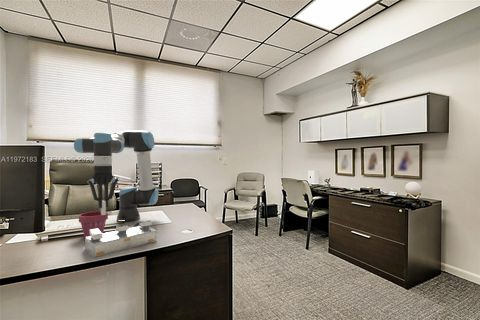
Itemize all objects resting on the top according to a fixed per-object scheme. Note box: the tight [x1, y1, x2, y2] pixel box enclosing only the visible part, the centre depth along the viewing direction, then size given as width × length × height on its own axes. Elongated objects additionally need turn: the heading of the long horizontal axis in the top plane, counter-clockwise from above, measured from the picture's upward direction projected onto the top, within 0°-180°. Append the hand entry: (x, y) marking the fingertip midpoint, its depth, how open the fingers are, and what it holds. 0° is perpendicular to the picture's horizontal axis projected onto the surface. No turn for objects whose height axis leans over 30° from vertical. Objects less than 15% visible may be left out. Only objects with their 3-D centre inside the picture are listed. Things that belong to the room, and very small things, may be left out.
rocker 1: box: [89, 228, 102, 240], centre depth 113 cm, size 8×4×2 cm, turn 44°
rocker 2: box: [115, 224, 129, 232], centre depth 121 cm, size 8×4×2 cm, turn 44°
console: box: [84, 225, 157, 258], centre depth 121 cm, size 14×30×7 cm, turn 134°
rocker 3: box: [139, 220, 153, 227], centre depth 130 cm, size 8×4×2 cm, turn 44°
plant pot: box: [78, 210, 109, 238], centre depth 136 cm, size 14×14×13 cm
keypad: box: [129, 221, 152, 228], centre depth 147 cm, size 10×4×15 cm
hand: (103, 214), depth 112 cm, fingers closed
